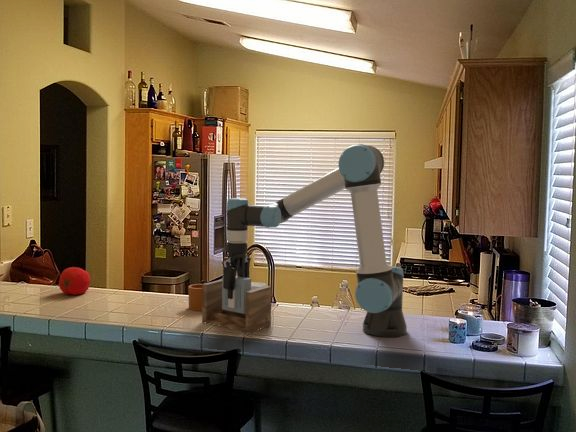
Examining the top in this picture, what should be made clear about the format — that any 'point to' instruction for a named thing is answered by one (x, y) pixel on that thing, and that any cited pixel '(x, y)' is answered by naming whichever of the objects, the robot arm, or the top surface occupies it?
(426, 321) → the top surface
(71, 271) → the tomato
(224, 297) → the gray rectangular block
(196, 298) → the mug
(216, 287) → the wooden frame
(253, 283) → the white cup
